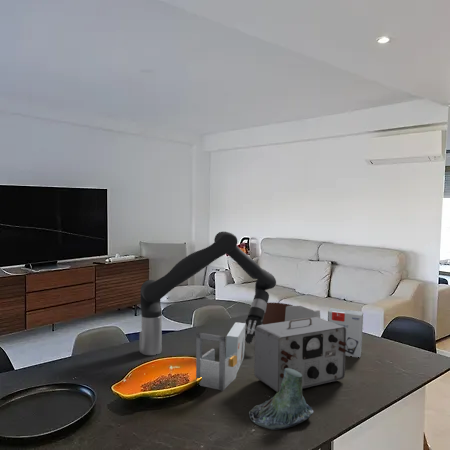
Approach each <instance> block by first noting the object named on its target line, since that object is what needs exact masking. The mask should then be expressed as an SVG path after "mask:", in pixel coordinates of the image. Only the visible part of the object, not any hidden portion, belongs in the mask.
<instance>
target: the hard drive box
mask: <svg viewBox="0 0 450 450" xmlns="http://www.w3.org/2000/svg"><path fill="white" fill-rule="evenodd" d="M327 321H329V322H332V323H335V324H337V325H340V326H343V327H345V328H346V352H345V357H346V356H347V357H350V356H352V358H358V357H359V358H358V359H360V358H361V356H362V353H361V352H362V349H363V346H362V345H363V328H364V327H363V325H364V311H360V310H354V309H353V310H351V309H344V308H343V309H342V308H335V307H334V308H333V307H330V308H329V310H327Z"/></svg>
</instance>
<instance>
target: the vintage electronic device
mask: <svg viewBox="0 0 450 450" xmlns="http://www.w3.org/2000/svg"><path fill="white" fill-rule="evenodd" d="M345 352H346V328H345V327H343V326H340V325H337V324H335V323H332V322H329V321H328V319H324V318H322V317H320V318H319V317H313V318H310V317H309V318H302V319H295V320H291V321H285V322H278V323H271V324H264V325H258V326H256V328H255V336H254V367H253V368H254V370H253V371H254V372H253V374H254V377H255V378H256V379H258V380H259V381H260V382H261V383H263V384H265V385H266V386H268V387H269V388H270V389H272V390H274V391H275V392H276V393H277V392H278V391H279V390H280V388H281V384H282V380H283V377H284V369H285V368H290V369H293V370H296V371H298V372H299V373H301V374H302V390H303V389H307V388H310V387H311V388H312V387H315V386H320V385H323V384H328V383H331V382H332V383H337V382H338V381H340V380H344V378H345V377H346V376H345V375H346V356H345Z"/></svg>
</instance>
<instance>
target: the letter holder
mask: <svg viewBox="0 0 450 450" xmlns="http://www.w3.org/2000/svg"><path fill="white" fill-rule="evenodd" d="M287 306H294V305H293V304H290V303H281V302H268V303H267V307H266V312H265V315H264V318H263V325H264V324H271V323H278V322H285V312H286V307H287Z"/></svg>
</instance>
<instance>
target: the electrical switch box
mask: <svg viewBox="0 0 450 450" xmlns="http://www.w3.org/2000/svg"><path fill="white" fill-rule="evenodd" d="M309 317H310V318H313V317H319V318H321V309H319V308H312V307H305V306H303V305H293V306H287V307H286V312H285V321H291V320H295V319H302V318H309Z"/></svg>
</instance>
